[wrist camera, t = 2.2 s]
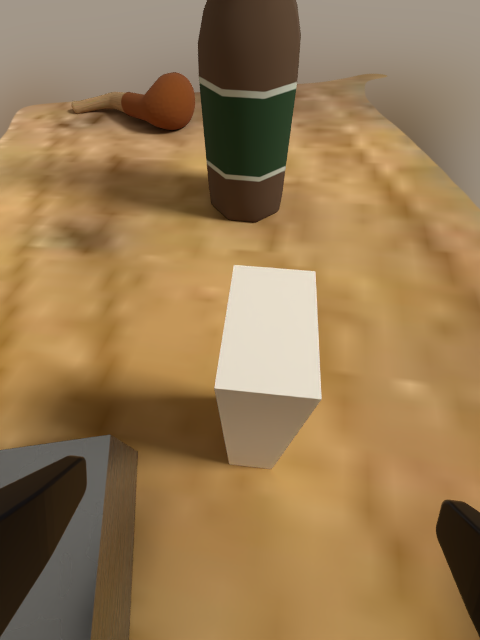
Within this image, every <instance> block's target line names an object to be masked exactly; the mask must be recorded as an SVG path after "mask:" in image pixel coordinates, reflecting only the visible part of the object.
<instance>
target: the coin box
mask: <svg viewBox="0 0 480 640" xmlns="http://www.w3.org/2000/svg"><path fill="white" fill-rule="evenodd" d="M69 455H73V456H81V457H84V458H85V460H86V470H87V488H86V491H85V494H84V496H83V498H82V500H81V502H80V503H79V505H78V507H77V509H76V511H75V513H74V515H73V517H72V519H71V521H70V522H69V524H68V526H67V528H66V530H65V532H64V534H63V536H62V538H61V539H60V541H59V543H58V545H57V547H56V549H55V551H54V553H53V554H52V556H51V558H50V560H49V561H48V563H47V565H46V566H45V568H44V569H43V571H42V573H41V574H40V576H39V577H38V579H37V581H36V582H35V584H34V585H33V587H32V588H31V590H30V592H29V593H28V595H27V596H26V598H25V599H24V601H23V602H22V604H21V606H20V607H19V609H18V610H17V612H16V613H15V615H14V617H13V618H12V620H11V621H10V623H9V624H8V626H7V628H6V629H5V631H4V632H3V634H2V635H1V637H0V640H129V626H130V605H131V584H132V563H133V541H134V520H135V499H136V478H137V457H138V451H136V450H134V449H133V448H131V447H130V446H128V445H126V444H125V443H123V442H122V441H120V440H118V439H117V438H115V437H114V436H112V435H104V436H97V437H90V438H83V439H76V440H69V441H62V442H55V443H48V444H41V445H34V446H27V447H20V448H13V449H5V450H0V488H2V487H4V486H6V485H8V484H10V483H13V482H15V481H17V480H19V479H21V478H23V477H25V476H27V475H29V474H31V473H33V472H35V471H37V470H39V469H41V468H43V467H45V466H47V465H50V464H52V463H54V462H56V461H58V460H60V459H62V458H64V457H66V456H69Z"/></svg>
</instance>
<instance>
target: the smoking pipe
mask: <svg viewBox="0 0 480 640" xmlns="http://www.w3.org/2000/svg"><path fill="white" fill-rule="evenodd" d="M72 108H73V111H74V112H75V113H76V114H80V113H84V112H89V111H94V110H100V109H116V110H119V111H122V112H124V113H126V114H127V115H129V116H132V117H135V118H138V119H142V120H145V121H147V122H149V123H151V124H152V125H154V126H156V127H159V128H163V129H167V130H176V129H180V128H182V127H184V126H186V125H187V124H188V123H189V121H190V120H191V118H192V116H193V113H194V108H195V95H194V91H193V87H192V85H191V83H190V82H189V80H188V79H187V78H186V77H185V76H183V75H181V74H179V73H176V72H173V73H168V74H164V75H162V76H160V77H159V78H158V80H157V81H156V82H155V83H154V84H153V85H152V86H151V88H150V89H149V90H148V91H147V93H146V94H145V95H142V94H136V93H131V92H127V93H123V92H111V93H108V94H105V95H101V96H98V97H94V98H90V99H85V100H81V101H73V102H72Z"/></svg>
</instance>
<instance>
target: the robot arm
mask: <svg viewBox="0 0 480 640" xmlns="http://www.w3.org/2000/svg"><path fill="white" fill-rule="evenodd" d="M86 488H87V470H86V460H85V458H84V457H81V456H73V455H69V456H66V457H64V458H62V459H60V460H58V461H56V462H54V463H52V464H50V465H47V466H45V467H43V468H41V469H39V470H37V471H35V472H33V473H31V474H29V475H27V476H25V477H23V478H21V479H19V480H17V481H15V482H13V483H10V484H8V485H6V486H4V487H2V488H0V637H1V635H2V634H3V632H4V631H5V629H6V628H7V626H8V624H9V623H10V621H11V620H12V618H13V617H14V615H15V613H16V612H17V610H18V609H19V607H20V606H21V604H22V602H23V601H24V599H25V598H26V596H27V595H28V593H29V592H30V590H31V588H32V587H33V585H34V584H35V582H36V581H37V579H38V577H39V576H40V574H41V573H42V571H43V569H44V568H45V566H46V565H47V563H48V561H49V560H50V558H51V556H52V554H53V553H54V551H55V549H56V547H57V545H58V543H59V541H60V539H61V538H62V536H63V534H64V532H65V530H66V528H67V526H68V524H69V522H70V521H71V519H72V517H73V515H74V513H75V511H76V509H77V507H78V505H79V503H80V502H81V500H82V498H83V496H84V494H85V491H86ZM436 534H437V538H438V541H439V543H440V546H441V548H442V551H443V553H444V556H445V558H446V560H447V563H448V565H449V568H450V570H451V573H452V575H453V577H454V580H455V582H456V585H457V587H458V590H459V592H460V594H461V597H462V599H463V602H464V604H465V606H466V609H467V611H468V613H469V615H470V618H471V620H472V622H473V624H474V626H475V628H476V630H477V632H478V634H479V636H480V512H478V511H477V510H475V509H474V508H472V507H471V506H469V505H468V504H466V503H465V502H462V501H455V500H445V501H444V502H443V503H442V505H441V509H440V513H439V517H438V521H437V525H436Z"/></svg>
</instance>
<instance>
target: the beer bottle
mask: <svg viewBox="0 0 480 640" xmlns="http://www.w3.org/2000/svg"><path fill="white" fill-rule="evenodd" d="M299 25H300V24H299V16H298V7H297V2H296V0H207V2H206V5H205V8H204V11H203V16H202V23H201V28H200V34H199V40H198V62H199V83H200V94H201V105H202V116H203V127H204V137H205V148H206V159H207V170H208V181H209V190H210V197H211V203H212V205H213V206H214V207H215V208H216V209H217V210H218V211H220V212H221V213H222V214H223V215H224V216H225V217H226V218H228V219H229V220H237V221H247V222H258V221H260V220H262V219H264V218H266V217H268V216H270V215H272V214H274V213H276V212H277V211H278V210H279V207H280V202H281V197H282V190H283V183H284V176H285V168H286V161H287V153H288V146H289V138H290V131H291V123H292V116H293V108H294V101H295V93H296V86H297V77H298V66H299V52H300V39H301V33H300V26H299Z"/></svg>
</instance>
